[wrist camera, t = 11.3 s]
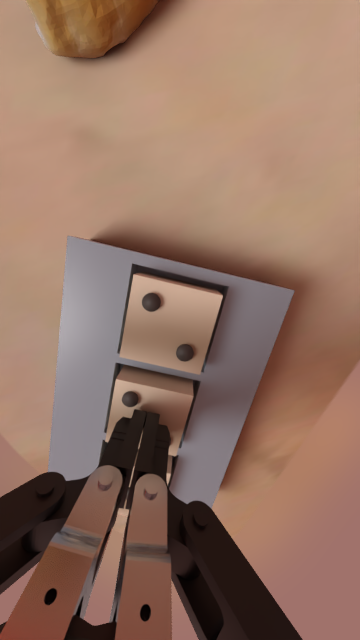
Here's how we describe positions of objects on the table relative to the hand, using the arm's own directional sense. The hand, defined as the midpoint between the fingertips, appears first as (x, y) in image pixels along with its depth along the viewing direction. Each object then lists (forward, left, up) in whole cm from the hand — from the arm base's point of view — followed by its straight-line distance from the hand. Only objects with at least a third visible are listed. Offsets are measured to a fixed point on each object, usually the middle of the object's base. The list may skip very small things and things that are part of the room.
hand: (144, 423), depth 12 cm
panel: (0, 0, -4) cm, 4 cm away
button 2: (-6, 0, -3) cm, 6 cm away
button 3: (0, 0, -3) cm, 3 cm away
